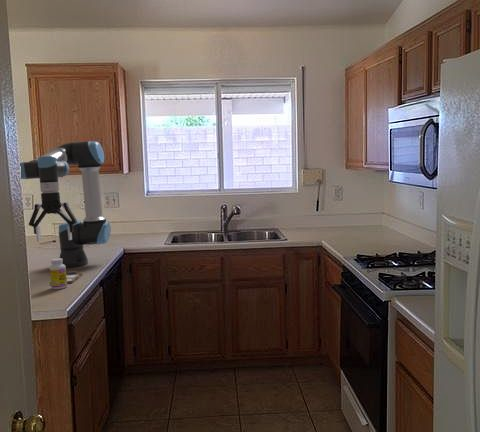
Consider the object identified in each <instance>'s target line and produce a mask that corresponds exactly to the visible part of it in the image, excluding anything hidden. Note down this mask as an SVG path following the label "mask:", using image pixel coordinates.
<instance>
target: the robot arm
mask: <svg viewBox="0 0 480 432" xmlns="http://www.w3.org/2000/svg"><path fill="white" fill-rule="evenodd" d="M104 162H105V153H104V149H103V147H102V145H101V143H99V142H98V141H77V142H76V141H75V142H67V143H64V144H61V145H59V146H56V147H54V148H52V149H51V150H49V152H48V153H45V154H43V155H41V156H39V157H36V158H35V159H32V160H29V161H26V162H25V161H23V162H19V163H20V166H21V179H20V180H32V179H33V180H34V179H39V189H40V192H42V193H41V194H40V196H41V203H35V204H34V207H33V208H34V209H33V212H32V213H31V217H30V220H29V222H28V226H30V227H32V228H33V233H34V235H36V242H37V243H40V242H41V241H42V237H41V236H42V235H41V226H39V225H40V223H41V222H42V220H43V219H44V218H45V216H46V215H50V214H53V215H54V214H57V215H59V217H61V218H62V219H63V220H64V221H65V222H64V223H61V224H59V226H58V239H59V248H60V253H59V257H58V258H62V259H63V262H62V264H64V265H65V267H66V268H75V267H76V268H77V267H82V266H86V265H88V263H89V259H88V256H87V255H86V252H85V250H84V246H89V245H105V244H107V243H108V241H109V240H110V237H111V231H112V230H111V229H112V228H111V223H110V222H108V221H107V218H106V216H104V215H103V206H102V194H101V181H100V174H99V173H100V169H101V168H102V164H104ZM70 166H77V168H78V170H80V172H81V180H82V190H83V191H82V193H83V200H84V202H83V203H84V211H85V218H83V220H82V221H81V220H79V219H78V220H77V218H76V216H75V214H74V213H73V212H72V210H71V208H70V207H69V203H68V202H67V201H65V202H61V194H60V184H59V178H63V177H65V176H67V175H68V174H69V173H70ZM61 207H62V208H63V209H64V211H65V212H66V213H67V214H66V213H64V211H63V210H62V209H61ZM40 209H42V210H43V211H41V213H40V215H39V216H38V213H39V211H40ZM67 215H68V216H67ZM37 216H38V217H37ZM82 222H83V223H82Z"/></svg>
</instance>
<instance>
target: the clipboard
mask: <svg viewBox="0 0 480 432" xmlns="http://www.w3.org/2000/svg"><path fill="white" fill-rule="evenodd" d="M82 276H83V273H82V272H81V273H78V271H77V270H76V271H75V270H74V271H66V278H67V285H68V284H69V285H70V284H74V283H75V282H76V281H77V280H78V279H80V277H82ZM49 285H50V286H51V281H50V283H49Z"/></svg>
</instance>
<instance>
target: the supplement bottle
mask: <svg viewBox="0 0 480 432" xmlns="http://www.w3.org/2000/svg"><path fill="white" fill-rule="evenodd" d="M50 262H51V265H50V266H49V276H50V282H51V285H50V288H51V289H52V290H64V289H65V288H67V287H68V284H67V278H66V272H67V269H66V267H65V265H64V264H62V262H63V259H62V258H59V257H58V258H52V259H51V260H50Z"/></svg>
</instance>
